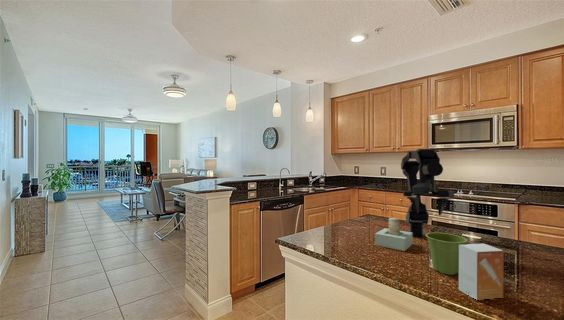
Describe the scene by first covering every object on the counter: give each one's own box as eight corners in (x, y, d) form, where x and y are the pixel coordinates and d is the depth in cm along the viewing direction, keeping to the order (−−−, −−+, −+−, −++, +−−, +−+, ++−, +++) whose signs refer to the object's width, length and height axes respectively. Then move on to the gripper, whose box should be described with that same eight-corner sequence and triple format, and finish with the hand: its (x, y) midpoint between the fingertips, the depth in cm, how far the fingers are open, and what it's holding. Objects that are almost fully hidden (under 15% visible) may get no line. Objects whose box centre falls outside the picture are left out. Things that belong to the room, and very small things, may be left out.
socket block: (384, 238, 124) (384, 228, 124) (412, 243, 116) (412, 232, 116) (375, 245, 115) (375, 233, 115) (404, 251, 107) (404, 238, 107)
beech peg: (388, 240, 119) (388, 217, 119) (399, 241, 117) (399, 218, 117) (388, 243, 114) (389, 219, 114) (400, 244, 113) (400, 220, 113)
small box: (477, 301, 69) (477, 251, 69) (457, 289, 76) (457, 244, 75) (504, 299, 70) (504, 250, 70) (483, 287, 77) (483, 242, 77)
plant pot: (476, 278, 82) (476, 242, 82) (437, 278, 83) (437, 242, 83) (452, 263, 94) (452, 232, 94) (419, 263, 95) (418, 232, 95)
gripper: (396, 177, 117) (397, 213, 115) (441, 175, 102) (443, 216, 100) (409, 178, 124) (410, 212, 122) (453, 177, 109) (455, 215, 107)
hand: (428, 214), depth 113 cm, fingers open, 9 cm apart
